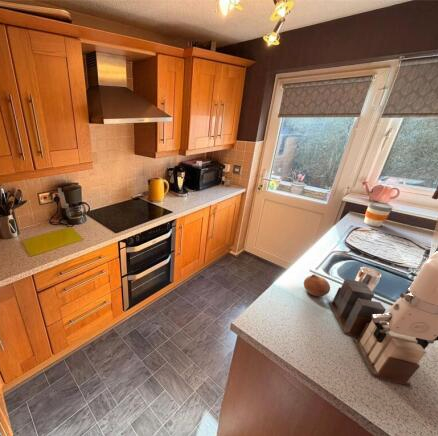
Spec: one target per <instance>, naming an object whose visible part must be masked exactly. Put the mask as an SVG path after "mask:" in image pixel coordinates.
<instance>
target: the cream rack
mask: <svg viewBox="0 0 438 436" xmlns="http://www.w3.org/2000/svg"><path fill="white" fill-rule="evenodd" d="M375 315H376V314H375ZM381 321H384V320H381ZM381 321H380V322H381ZM385 327H388V325H384V326H383V328H385ZM376 328H377V327H376V326H375V324H374V323H373V320H372V321H371V323H370V324H369V323H367V324H366V326H365V328H364V330H363V331H362V333H361V335H360V337H357V338H356V337H355V338H353V342H354V344H355V345H356V347H357V349H358V351H359V353H360V354H361V357H362V358H363V360H364V362H365V364H366V366H367V368H368V370H369V371H370V374H371V375H372V377H376V378H380V379H383V380H386V381H391V382H394V383H397V384H401V385H405V386H411V384H412V383H411V382H410V380H411V378H412V377H413V375H414V374H415V373H416V372H417V371H418V369H419V368H420V367H421V365H420V361H421V360H422V359H423V358H424V356H425V355H426V354H427V351H426V349H423V347H422V346H421V345H419V344H415V343H410V342H406V341H401V340H397V339H392V340H391V342H390V343H389V345H388V346H387V348H386V349H385V351H384V352H383V354H382V355H381V357H380V358H379V360H378V361H377V363H376V364H374V363H372V362H371V360H370V358H369V355H370V353H371V352H372V350H373V349H374V347H375V345H376V344H377V342H378V341H377V340H376V338H375V337H374V335H373V333H374V331H375V329H376Z"/></svg>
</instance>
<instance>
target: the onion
mask: <svg viewBox="0 0 438 436" xmlns="http://www.w3.org/2000/svg"><path fill="white" fill-rule="evenodd" d="M303 287H304V289H305V291H306V292H307V293H308V294H309V295H311V296H313V297H315V298H316V297H317V298H323V297H324V296H327V294H329V293H330V292H331V285H330V283H329V282H328V280H327V279H325V278H324V277H321V276H319V275H317V274H314V273H313V274H311V275H309V276H307V277H306V278H305V279H304V282H303Z"/></svg>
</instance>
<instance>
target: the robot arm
mask: <svg viewBox="0 0 438 436" xmlns="http://www.w3.org/2000/svg"><path fill="white" fill-rule="evenodd" d="M372 320H373V323H374V324H375V326H376V327H377V328H376V329H375V331H374V333H373V335H374V337H375V338H376V340H377V341H378V342H379V343H381V342H382V341H383V340H384V338H385V337H386V333H385V332H388V331H392V332H394V333H397V334H401V335H406V336H410V337H414V338H415V339H416V340H417V341H418V342H417V344H419V345H421V346H422V347H423V349H424V350H426V348H427V347H428V346H429V344H431V345H432V344H434V343H435V342H436V341H437V342H438V250H437V251H435V252H433V253H432V254H431V255H430V256H429V258H428V259H427V260H426V261H425V262H424V263H423V265H422V267H421V268H420V269H419V271H418V273H417V275H416V276H415V278H414V280H412V283H411V284H410V286H409V287H408V289H407V291H406V292H405V293H403V292H402V293H400V297H399V298H397V300H396V301H395V302H394V303H393V304H392V305H391V306H390V308H389V309H388V310H387V311H386V313H384V314H377V315H372ZM381 320H384V321H381ZM380 321H381V322H380ZM384 325H388V327H385V328H383V326H384Z"/></svg>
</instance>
